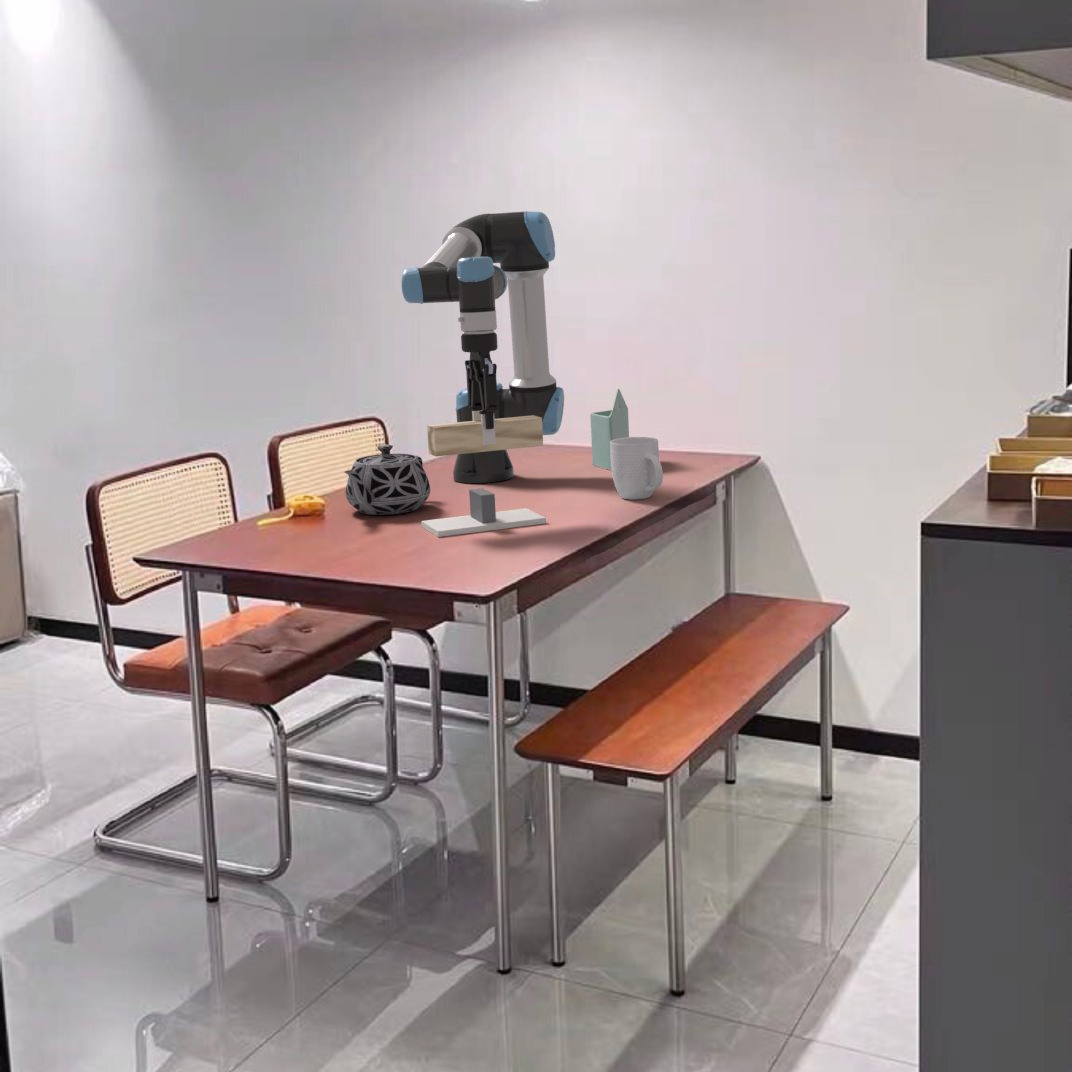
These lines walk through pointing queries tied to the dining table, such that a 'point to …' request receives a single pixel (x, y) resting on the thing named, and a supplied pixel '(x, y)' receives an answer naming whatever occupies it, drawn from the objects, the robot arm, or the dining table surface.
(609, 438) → the planter
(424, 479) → the teapot
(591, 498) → the dining table surface
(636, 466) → the mug
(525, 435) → the wooden beam
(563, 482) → the dining table surface
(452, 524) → the fulcrum
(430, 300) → the robot arm
